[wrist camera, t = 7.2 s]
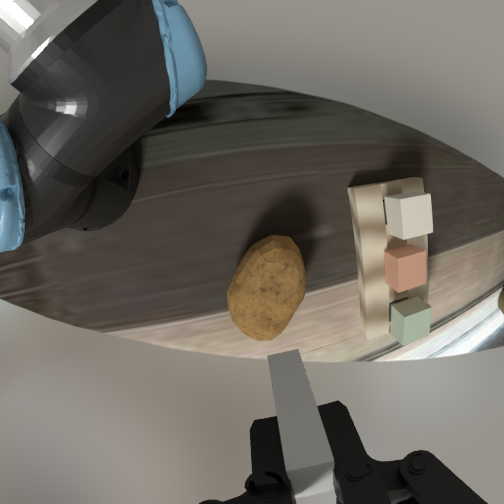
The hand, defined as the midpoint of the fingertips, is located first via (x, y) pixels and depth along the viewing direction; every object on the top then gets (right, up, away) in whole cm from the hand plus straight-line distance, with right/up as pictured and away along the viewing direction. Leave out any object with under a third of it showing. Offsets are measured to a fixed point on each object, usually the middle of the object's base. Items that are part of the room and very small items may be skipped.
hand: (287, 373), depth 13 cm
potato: (0, +3, +27) cm, 27 cm away
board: (+20, +5, +27) cm, 34 cm away
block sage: (+22, -3, +27) cm, 35 cm away
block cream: (+18, +12, +23) cm, 32 cm away
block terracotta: (+20, +5, +27) cm, 34 cm away
